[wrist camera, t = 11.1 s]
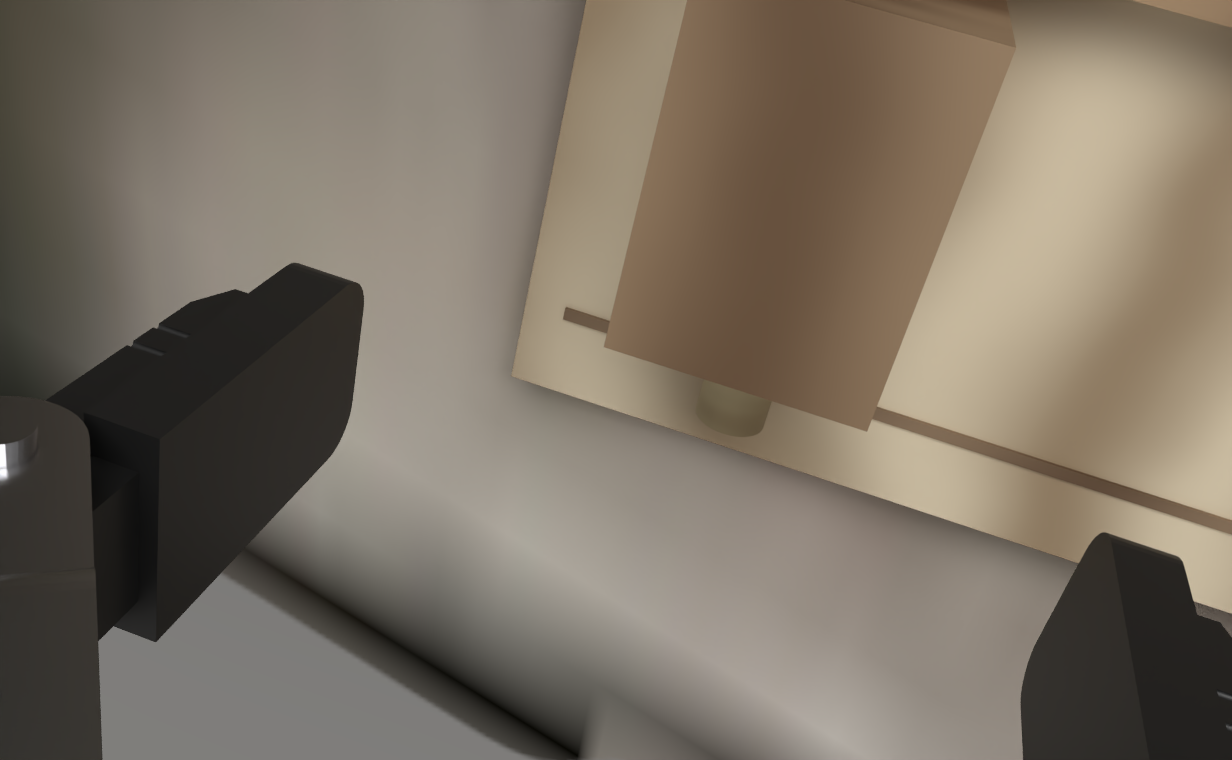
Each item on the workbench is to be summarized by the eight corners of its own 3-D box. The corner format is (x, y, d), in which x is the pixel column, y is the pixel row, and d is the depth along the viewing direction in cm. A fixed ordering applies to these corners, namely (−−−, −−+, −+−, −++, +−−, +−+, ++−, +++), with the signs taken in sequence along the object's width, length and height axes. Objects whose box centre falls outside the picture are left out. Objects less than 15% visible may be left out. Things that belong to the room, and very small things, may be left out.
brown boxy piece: (1003, -16, 23) (1016, 48, 17) (841, 419, 28) (814, 567, 23) (755, -83, 23) (697, -42, 18) (640, 355, 28) (570, 485, 23)
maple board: (2138, 150, 21) (2368, 224, 18) (1633, 699, 28) (1726, 829, 25) (656, -236, 24) (606, -238, 21) (535, 342, 31) (483, 413, 28)
